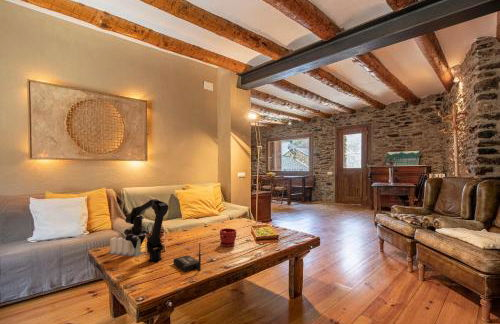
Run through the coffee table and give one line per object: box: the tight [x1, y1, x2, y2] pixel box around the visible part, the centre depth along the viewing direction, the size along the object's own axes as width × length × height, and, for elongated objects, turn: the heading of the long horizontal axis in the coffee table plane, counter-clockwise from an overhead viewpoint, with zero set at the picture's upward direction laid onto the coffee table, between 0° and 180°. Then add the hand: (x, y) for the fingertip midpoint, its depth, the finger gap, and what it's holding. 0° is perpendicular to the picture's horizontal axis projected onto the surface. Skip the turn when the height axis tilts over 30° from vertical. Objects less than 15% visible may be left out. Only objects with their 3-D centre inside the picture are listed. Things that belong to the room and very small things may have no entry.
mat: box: [105, 251, 145, 258], centre depth 180 cm, size 25×9×1 cm, turn 78°
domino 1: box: [116, 237, 124, 254], centre depth 181 cm, size 1×5×10 cm, turn 168°
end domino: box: [109, 236, 118, 253], centre depth 182 cm, size 1×5×10 cm, turn 168°
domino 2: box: [122, 238, 128, 254], centre depth 180 cm, size 1×5×10 cm, turn 168°
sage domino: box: [134, 238, 142, 255], centre depth 178 cm, size 1×5×10 cm, turn 168°
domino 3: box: [128, 241, 134, 255], centre depth 179 cm, size 1×5×10 cm, turn 168°
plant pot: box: [219, 228, 237, 247], centre depth 200 cm, size 13×13×12 cm
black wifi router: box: [173, 243, 202, 273], centre depth 157 cm, size 20×14×17 cm
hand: (137, 247), depth 177 cm, fingers open, 6 cm apart
